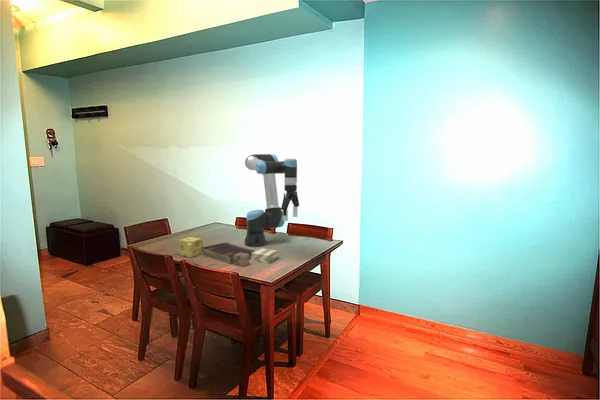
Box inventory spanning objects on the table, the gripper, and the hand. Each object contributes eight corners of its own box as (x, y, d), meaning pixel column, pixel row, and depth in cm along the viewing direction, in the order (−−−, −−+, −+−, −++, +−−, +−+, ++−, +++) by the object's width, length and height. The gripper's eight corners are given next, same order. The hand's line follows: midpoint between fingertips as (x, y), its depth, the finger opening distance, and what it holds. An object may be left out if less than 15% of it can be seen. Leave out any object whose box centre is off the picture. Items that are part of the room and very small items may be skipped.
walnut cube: (234, 265, 201) (234, 254, 200) (241, 262, 206) (241, 252, 205) (242, 266, 197) (241, 256, 197) (249, 264, 202) (249, 254, 202)
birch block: (250, 261, 209) (250, 253, 208) (261, 255, 219) (261, 248, 219) (268, 264, 203) (268, 255, 203) (278, 258, 214) (278, 250, 213)
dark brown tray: (256, 257, 216) (255, 249, 215) (231, 265, 202) (231, 256, 201) (226, 248, 234) (226, 241, 234) (202, 255, 220) (202, 247, 220)
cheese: (190, 258, 213) (189, 242, 212) (178, 255, 219) (177, 239, 217) (203, 253, 222) (202, 238, 220) (191, 251, 227) (191, 236, 226)
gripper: (287, 186, 200) (286, 223, 203) (304, 182, 223) (304, 215, 226) (275, 185, 203) (275, 221, 206) (293, 182, 226) (293, 214, 229)
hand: (290, 218), depth 216 cm, fingers open, 13 cm apart
